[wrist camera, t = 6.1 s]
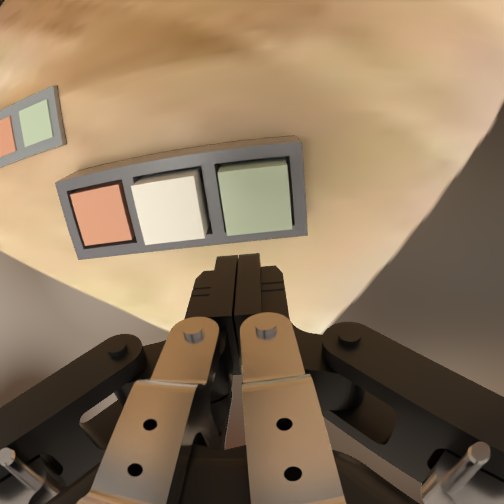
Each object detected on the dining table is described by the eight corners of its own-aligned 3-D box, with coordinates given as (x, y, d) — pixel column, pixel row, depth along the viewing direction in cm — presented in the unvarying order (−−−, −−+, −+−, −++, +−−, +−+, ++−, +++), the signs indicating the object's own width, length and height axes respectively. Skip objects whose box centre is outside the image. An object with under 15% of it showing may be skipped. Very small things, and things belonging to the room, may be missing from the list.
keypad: (77, 170, 23) (55, 182, 20) (294, 135, 22) (301, 141, 19) (96, 240, 26) (78, 259, 22) (300, 216, 25) (307, 235, 21)
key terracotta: (84, 185, 22) (70, 194, 20) (130, 175, 22) (118, 184, 20) (97, 232, 24) (85, 245, 22) (142, 226, 24) (132, 239, 22)
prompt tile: (-14, 119, 20) (-19, 120, 19) (57, 85, 19) (51, 86, 19) (-4, 169, 22) (-9, 171, 21) (66, 144, 22) (61, 145, 21)
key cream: (142, 176, 21) (130, 185, 19) (200, 167, 21) (193, 175, 18) (154, 230, 23) (145, 245, 20) (209, 224, 22) (204, 238, 20)
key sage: (221, 164, 20) (217, 172, 18) (283, 157, 20) (287, 164, 18) (229, 221, 22) (227, 235, 20) (288, 215, 22) (292, 229, 20)
